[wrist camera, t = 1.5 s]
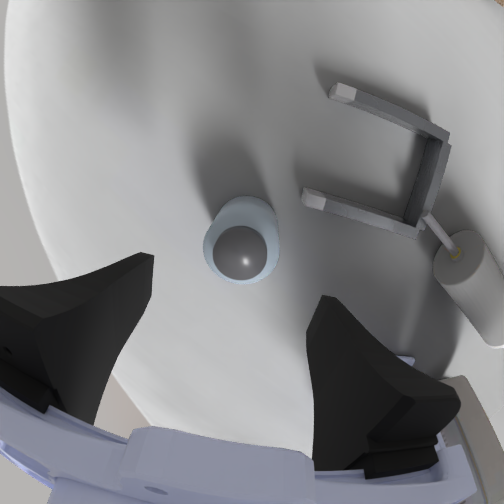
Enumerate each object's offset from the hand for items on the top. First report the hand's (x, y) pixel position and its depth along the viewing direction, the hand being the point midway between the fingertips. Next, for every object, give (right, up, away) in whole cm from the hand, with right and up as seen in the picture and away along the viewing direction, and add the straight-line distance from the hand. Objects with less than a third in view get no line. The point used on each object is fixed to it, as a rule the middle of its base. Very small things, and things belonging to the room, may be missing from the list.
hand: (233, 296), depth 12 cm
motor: (+27, +6, +6) cm, 28 cm away
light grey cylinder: (0, +4, +9) cm, 10 cm away
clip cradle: (+10, +8, +6) cm, 14 cm away
